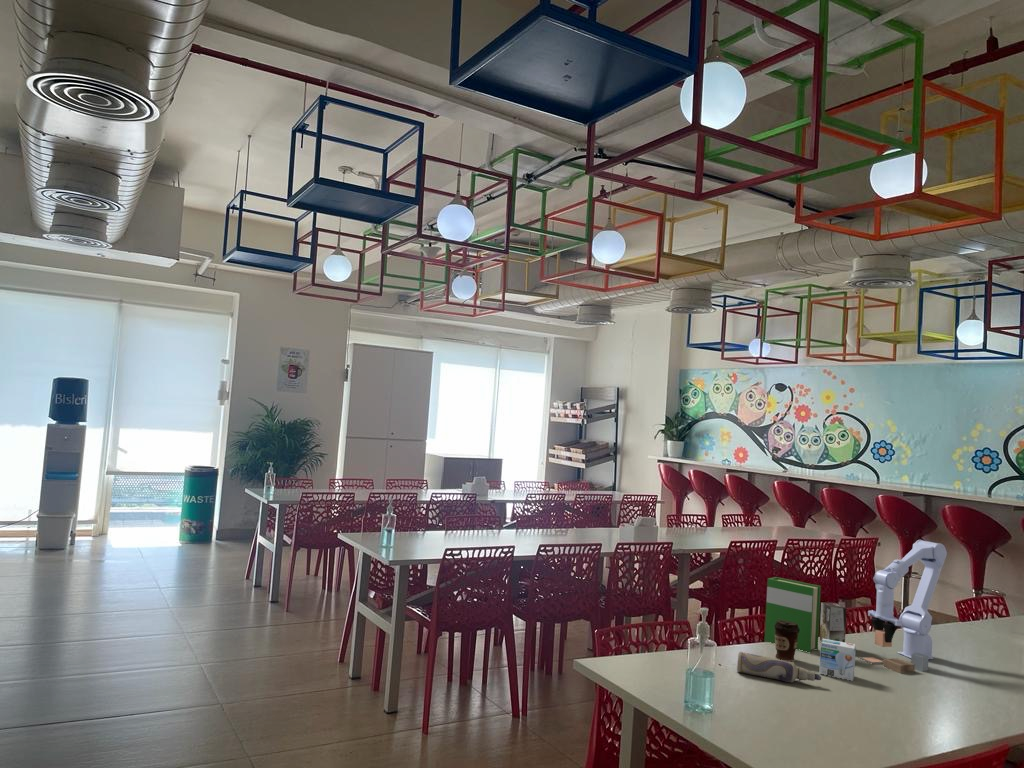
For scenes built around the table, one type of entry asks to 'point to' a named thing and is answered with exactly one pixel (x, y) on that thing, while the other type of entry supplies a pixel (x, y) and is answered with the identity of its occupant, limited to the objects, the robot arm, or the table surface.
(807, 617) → the hardback book
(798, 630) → the coffee cup
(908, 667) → the walnut slab
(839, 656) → the light bulb box
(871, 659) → the swatch
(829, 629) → the coffee box
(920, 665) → the slate block
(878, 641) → the terracotta block
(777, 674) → the decorative bottle
